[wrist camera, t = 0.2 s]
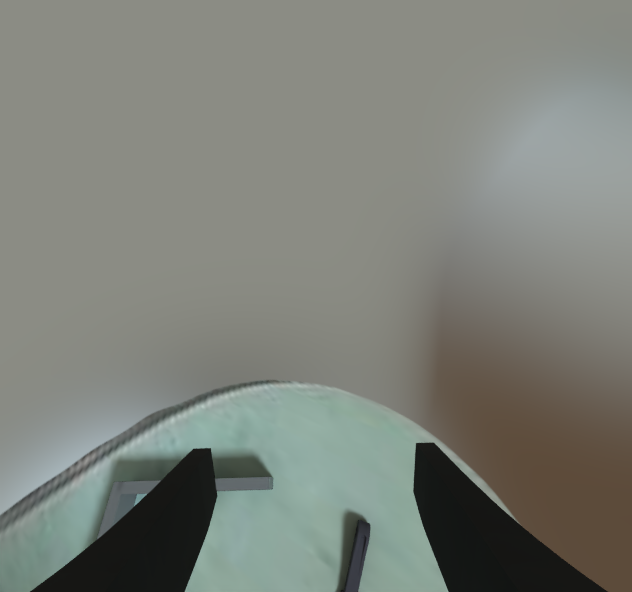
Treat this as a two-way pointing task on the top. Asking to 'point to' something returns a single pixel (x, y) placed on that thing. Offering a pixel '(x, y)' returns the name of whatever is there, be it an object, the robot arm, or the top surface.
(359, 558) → the bracket
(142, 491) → the box
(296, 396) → the top surface
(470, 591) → the robot arm
